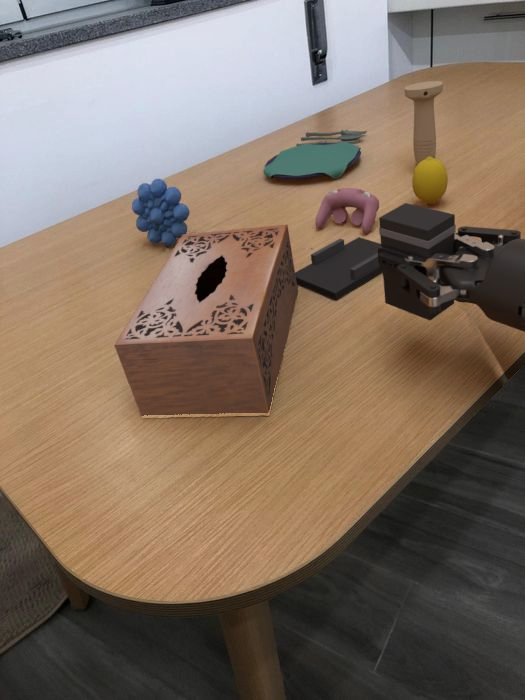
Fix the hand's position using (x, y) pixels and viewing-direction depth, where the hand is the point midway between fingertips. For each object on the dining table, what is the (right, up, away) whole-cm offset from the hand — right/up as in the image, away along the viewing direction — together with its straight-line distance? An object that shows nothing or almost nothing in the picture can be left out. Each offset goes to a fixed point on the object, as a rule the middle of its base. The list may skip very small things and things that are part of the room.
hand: (395, 246), depth 62 cm
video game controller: (0, +9, +36) cm, 37 cm away
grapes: (-29, +8, +42) cm, 52 cm away
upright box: (+3, -6, +1) cm, 7 cm away
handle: (+17, +23, +50) cm, 57 cm away
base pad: (-2, +1, +23) cm, 24 cm away
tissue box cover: (-18, -11, +13) cm, 24 cm away
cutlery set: (-1, +30, +65) cm, 72 cm away
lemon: (+14, +13, +37) cm, 42 cm away
